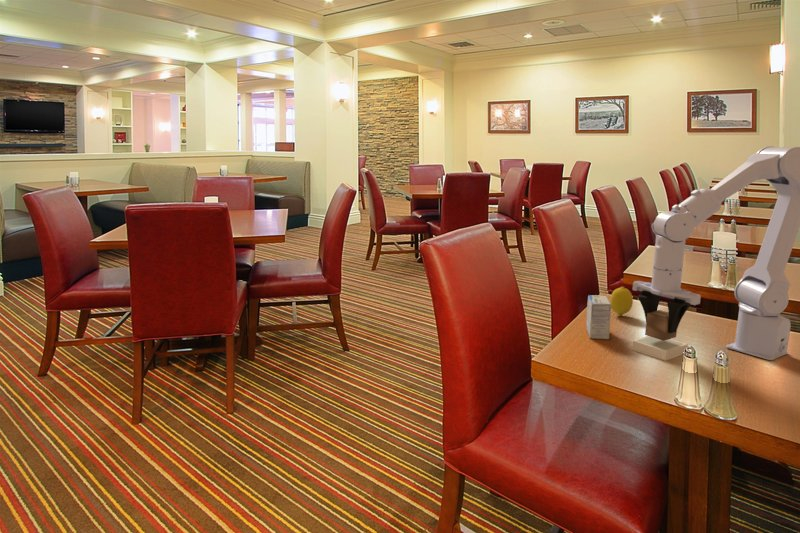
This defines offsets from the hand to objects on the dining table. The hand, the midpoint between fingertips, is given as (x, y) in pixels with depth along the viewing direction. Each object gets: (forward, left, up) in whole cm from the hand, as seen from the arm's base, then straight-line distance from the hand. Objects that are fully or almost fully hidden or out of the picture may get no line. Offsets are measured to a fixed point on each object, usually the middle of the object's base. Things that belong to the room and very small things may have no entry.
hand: (661, 328), depth 125 cm
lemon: (+21, -15, -5) cm, 26 cm away
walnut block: (0, 0, -2) cm, 2 cm away
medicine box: (+15, +2, -5) cm, 16 cm away
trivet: (0, 0, -6) cm, 6 cm away
